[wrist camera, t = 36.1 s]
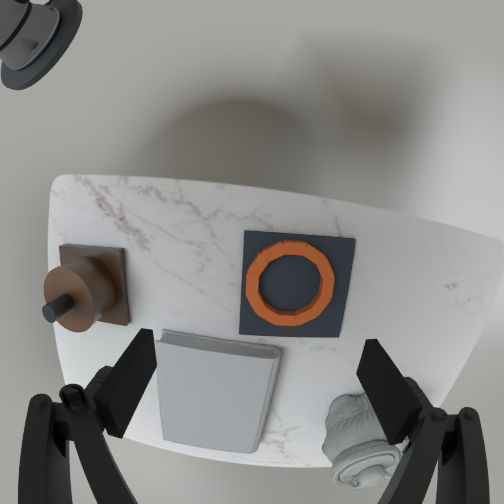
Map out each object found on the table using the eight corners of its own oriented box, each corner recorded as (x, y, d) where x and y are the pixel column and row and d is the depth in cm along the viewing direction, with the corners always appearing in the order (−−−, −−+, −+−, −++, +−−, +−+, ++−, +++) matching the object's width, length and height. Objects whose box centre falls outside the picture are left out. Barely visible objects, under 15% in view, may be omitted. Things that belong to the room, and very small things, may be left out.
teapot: (412, 391, 43) (452, 455, 25) (361, 438, 46) (384, 504, 28) (361, 364, 41) (403, 445, 23) (305, 418, 44) (319, 500, 26)
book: (163, 439, 42) (155, 341, 37) (167, 426, 46) (162, 329, 40) (258, 454, 42) (282, 360, 37) (258, 440, 46) (280, 346, 41)
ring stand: (64, 243, 38) (12, 263, 26) (124, 248, 38) (76, 272, 26) (72, 311, 40) (30, 344, 28) (130, 322, 40) (93, 364, 28)
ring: (249, 237, 36) (248, 239, 35) (336, 243, 36) (339, 245, 35) (244, 318, 39) (243, 323, 37) (324, 321, 39) (326, 326, 37)
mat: (244, 230, 37) (244, 231, 36) (353, 238, 37) (355, 239, 36) (239, 331, 40) (239, 334, 39) (337, 334, 40) (338, 337, 39)
